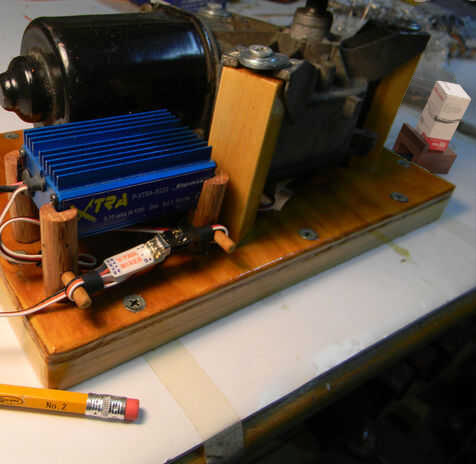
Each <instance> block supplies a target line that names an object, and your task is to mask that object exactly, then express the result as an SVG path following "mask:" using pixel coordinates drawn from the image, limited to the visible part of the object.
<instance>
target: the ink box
mask: <svg viewBox="0 0 476 464" xmlns="http://www.w3.org/2000/svg"><path fill="white" fill-rule="evenodd" d="M471 101H472V98H471V97H470V95H468V93H467V92H466V91H465V90H464V89H463V87H462V86H461V85H460V84H458V83H453V82H448V81H442V80H437V81H435V83H434V86H433V88H432V90H431V93H430V95H429V97H428V99H427V101H426V104H425V106H424V108H423V110H422V112H421V115H420V117H419V119H418V121H417V123H416V126H415V128H414V130H415V131H416V132H417V133H418V134H419V135H420V136H421V137H422V138H423V139H424V140H426V141H427V142H428V143H429V144H430V147H429V149H431V150H437V151H443V152H445V150H446V148H447V146H448V147H449V144H450V142H451V141H452V138H453V136H454V134H455V132H456V130H457V128H458V126H459V124H460V123H461V121H462V118H463V116H464V115H465V113H466V110H467V109H468V107H469V105H470V103H471Z"/></svg>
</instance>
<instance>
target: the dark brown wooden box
mask: <svg viewBox="0 0 476 464" xmlns="http://www.w3.org/2000/svg"><path fill="white" fill-rule="evenodd" d="M429 147H430V144H429V143H428V142H427V141H426V140H424V139H423V138H422V137H421V136H420V135H419V134H418V133H417V132H416V131H415V128H414V127H413V126H412V125H410V123H408V122H403V123H402V126H401V128H400V130H399V132H398V134H397V136H396V140H395V141H394V144H393V146H392V151H393V152H394V153H395V154H407V155H413V157H412V158H411V160H410V162H413V163H415V164H417V165H419V166H421V167H423V168H425V169H427V170H428V171H430V172H432V173H431V174H447V175H448V174H449V172H450V171H451V168H452V167H453V165H454V162H455V161H456V159H457V157H458V154H457V153H456V152H455V151H453V149H451V147H449V145H448V146H447V148H446V150H445V152H443V151H437V150H431V149H429Z"/></svg>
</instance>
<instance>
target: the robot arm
mask: <svg viewBox="0 0 476 464" xmlns="http://www.w3.org/2000/svg"><path fill="white" fill-rule="evenodd" d="M413 1H414V2H417V3H424V2H429V0H413ZM469 1H472V2H475V1H476V0H469Z"/></svg>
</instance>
